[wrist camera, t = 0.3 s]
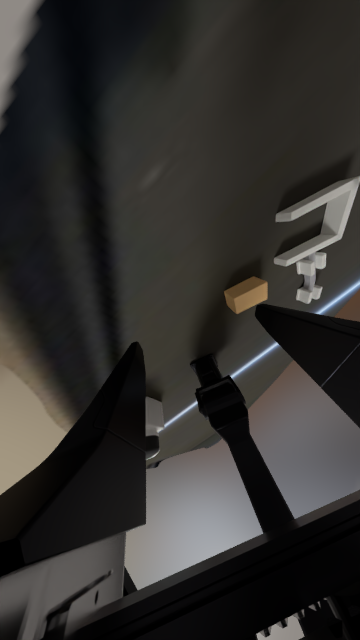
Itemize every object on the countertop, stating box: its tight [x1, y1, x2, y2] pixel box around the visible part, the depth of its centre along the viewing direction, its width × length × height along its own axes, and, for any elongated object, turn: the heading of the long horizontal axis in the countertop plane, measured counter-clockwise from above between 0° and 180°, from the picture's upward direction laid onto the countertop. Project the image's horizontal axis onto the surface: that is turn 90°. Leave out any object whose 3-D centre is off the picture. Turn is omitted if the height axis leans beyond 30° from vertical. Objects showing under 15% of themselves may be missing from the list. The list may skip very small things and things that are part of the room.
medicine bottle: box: [145, 396, 164, 460], centre depth 36 cm, size 7×7×12 cm
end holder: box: [274, 176, 360, 266], centre depth 20 cm, size 8×10×2 cm
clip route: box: [296, 252, 326, 304], centre depth 26 cm, size 12×4×2 cm, turn 24°
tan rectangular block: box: [224, 276, 267, 314], centre depth 24 cm, size 4×6×4 cm, turn 114°
